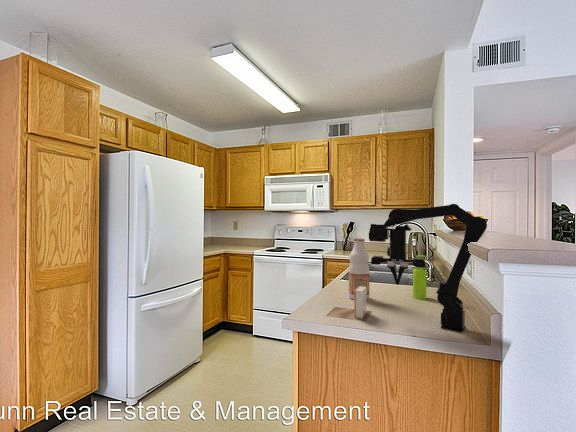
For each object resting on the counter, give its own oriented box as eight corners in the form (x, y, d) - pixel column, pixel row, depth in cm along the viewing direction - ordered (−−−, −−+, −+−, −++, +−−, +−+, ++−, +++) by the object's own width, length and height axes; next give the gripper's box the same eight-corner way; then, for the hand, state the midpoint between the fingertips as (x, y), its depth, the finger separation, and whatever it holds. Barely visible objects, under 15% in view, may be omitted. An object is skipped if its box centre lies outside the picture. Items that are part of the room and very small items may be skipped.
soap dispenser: (430, 299, 146) (430, 256, 146) (415, 299, 146) (415, 256, 146) (425, 296, 152) (425, 254, 152) (411, 296, 152) (411, 254, 152)
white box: (366, 312, 123) (366, 286, 123) (362, 318, 116) (362, 291, 116) (358, 311, 125) (358, 286, 125) (354, 317, 117) (354, 290, 117)
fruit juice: (344, 297, 149) (344, 238, 149) (358, 294, 154) (358, 237, 154) (359, 301, 141) (359, 239, 141) (373, 299, 146) (373, 238, 146)
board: (371, 312, 125) (371, 311, 125) (365, 322, 113) (365, 321, 113) (334, 308, 131) (334, 306, 131) (325, 317, 119) (325, 315, 119)
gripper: (425, 242, 121) (424, 282, 121) (375, 240, 128) (374, 278, 128) (425, 244, 110) (424, 288, 110) (370, 242, 118) (370, 283, 118)
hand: (397, 284), depth 117 cm, fingers closed
